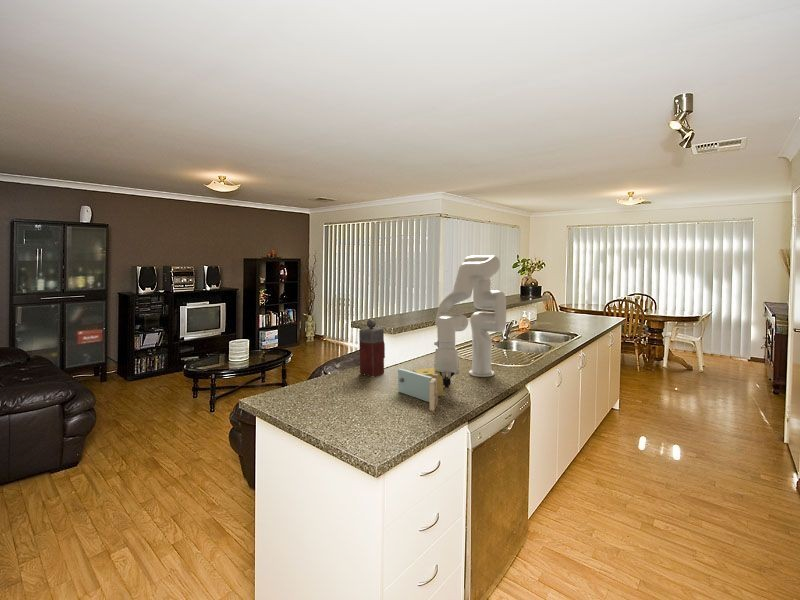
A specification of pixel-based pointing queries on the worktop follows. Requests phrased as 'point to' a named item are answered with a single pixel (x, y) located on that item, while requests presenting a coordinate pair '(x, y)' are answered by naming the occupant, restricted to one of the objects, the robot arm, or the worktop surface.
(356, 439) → the worktop surface
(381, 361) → the red canister
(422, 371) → the cheese
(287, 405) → the worktop surface
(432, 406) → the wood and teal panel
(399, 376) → the door
